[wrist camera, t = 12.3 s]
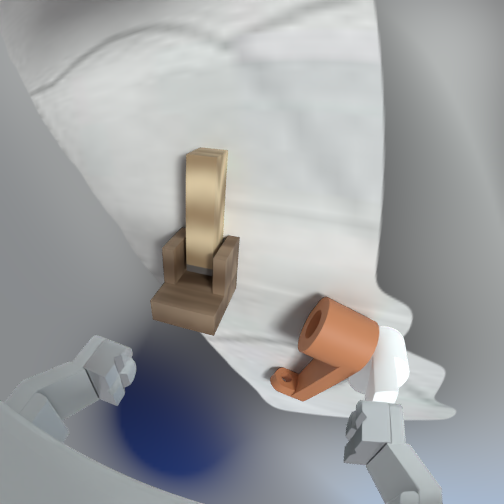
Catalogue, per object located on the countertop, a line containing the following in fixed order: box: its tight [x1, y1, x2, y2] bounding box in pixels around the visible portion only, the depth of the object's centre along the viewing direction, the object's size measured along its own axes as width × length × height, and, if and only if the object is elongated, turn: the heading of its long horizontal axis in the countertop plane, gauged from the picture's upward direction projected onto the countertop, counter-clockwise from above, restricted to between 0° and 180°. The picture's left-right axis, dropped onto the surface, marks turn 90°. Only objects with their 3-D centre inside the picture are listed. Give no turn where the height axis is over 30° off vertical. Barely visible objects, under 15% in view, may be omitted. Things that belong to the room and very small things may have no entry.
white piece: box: [348, 326, 410, 403], centre depth 40 cm, size 9×9×12 cm
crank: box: [270, 297, 379, 401], centre depth 44 cm, size 20×8×8 cm, turn 156°
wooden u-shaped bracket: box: [150, 227, 240, 336], centre depth 39 cm, size 8×8×10 cm
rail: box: [186, 148, 228, 276], centre depth 38 cm, size 15×4×4 cm, turn 175°
